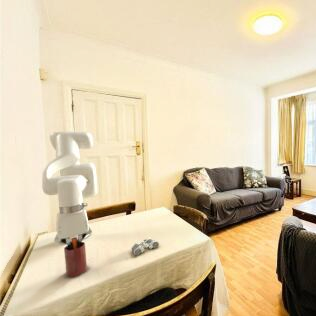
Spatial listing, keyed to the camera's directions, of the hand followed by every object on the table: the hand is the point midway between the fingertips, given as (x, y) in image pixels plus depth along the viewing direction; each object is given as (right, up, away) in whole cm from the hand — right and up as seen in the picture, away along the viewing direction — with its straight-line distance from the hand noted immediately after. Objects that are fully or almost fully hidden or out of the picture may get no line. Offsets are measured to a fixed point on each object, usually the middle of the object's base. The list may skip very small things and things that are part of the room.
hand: (75, 250), depth 84 cm
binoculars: (+20, -8, +19) cm, 29 cm away
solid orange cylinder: (0, -7, +1) cm, 7 cm away
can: (0, -9, +1) cm, 9 cm away
